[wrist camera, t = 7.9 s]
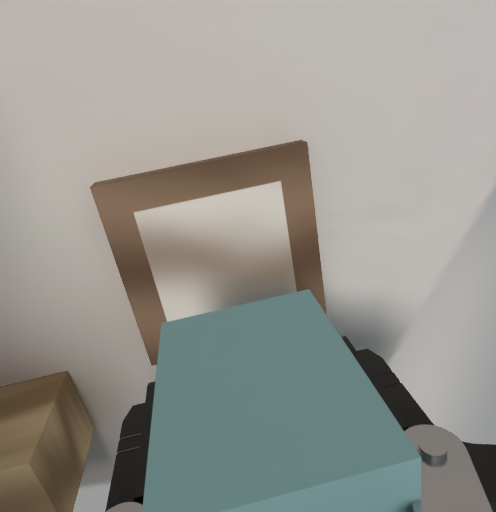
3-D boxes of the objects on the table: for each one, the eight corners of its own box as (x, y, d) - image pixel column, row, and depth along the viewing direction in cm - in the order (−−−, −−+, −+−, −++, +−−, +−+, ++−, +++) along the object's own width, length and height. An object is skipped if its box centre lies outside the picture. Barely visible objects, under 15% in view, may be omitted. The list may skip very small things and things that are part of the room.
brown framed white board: (94, 182, 18) (89, 187, 17) (300, 140, 19) (307, 142, 18) (153, 354, 22) (151, 366, 21) (321, 313, 23) (327, 323, 22)
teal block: (161, 323, 11) (139, 533, 6) (309, 289, 12) (421, 457, 6) (196, 434, 13) (204, 677, 8) (323, 402, 13) (420, 611, 8)
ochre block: (-15, 390, 21) (-84, 491, 16) (67, 370, 22) (28, 463, 16) (18, 447, 23) (-33, 557, 18) (94, 428, 23) (67, 530, 18)
